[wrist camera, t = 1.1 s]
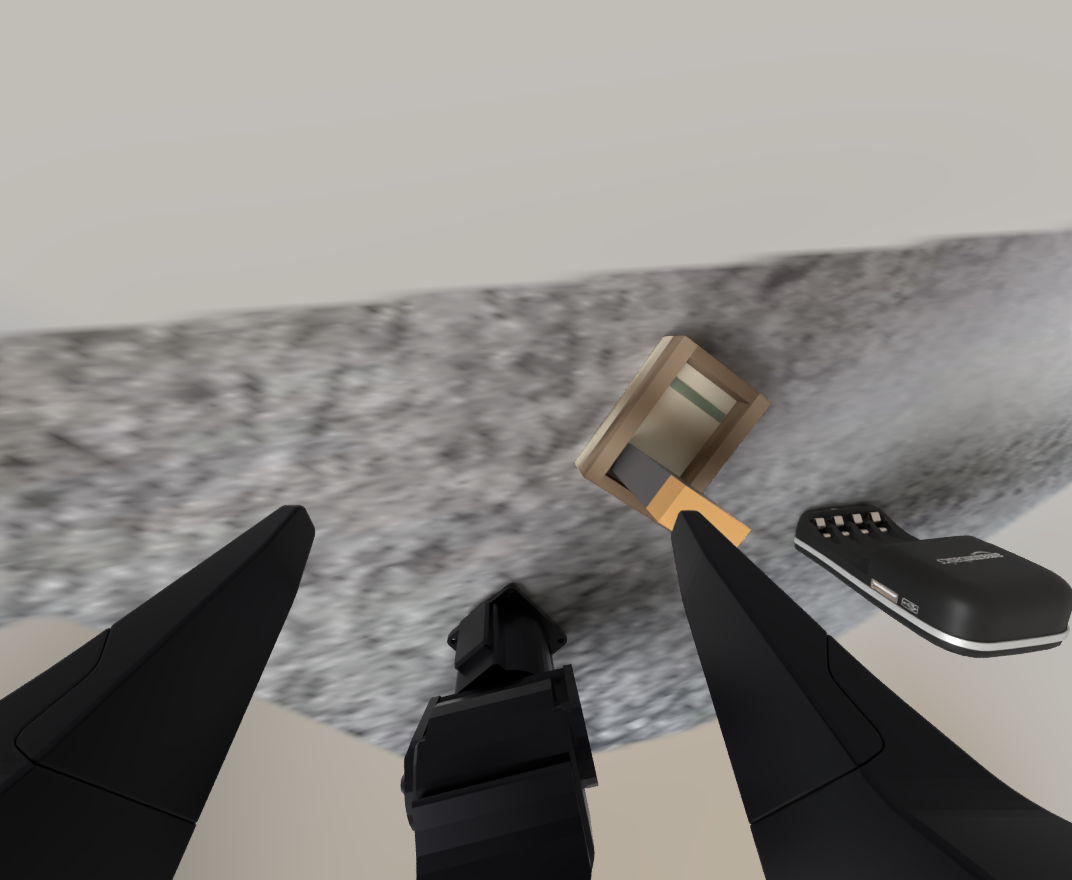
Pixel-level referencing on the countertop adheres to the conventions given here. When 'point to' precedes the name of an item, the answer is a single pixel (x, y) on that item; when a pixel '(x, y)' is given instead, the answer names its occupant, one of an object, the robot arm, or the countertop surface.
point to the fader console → (675, 419)
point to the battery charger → (941, 583)
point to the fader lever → (670, 493)
